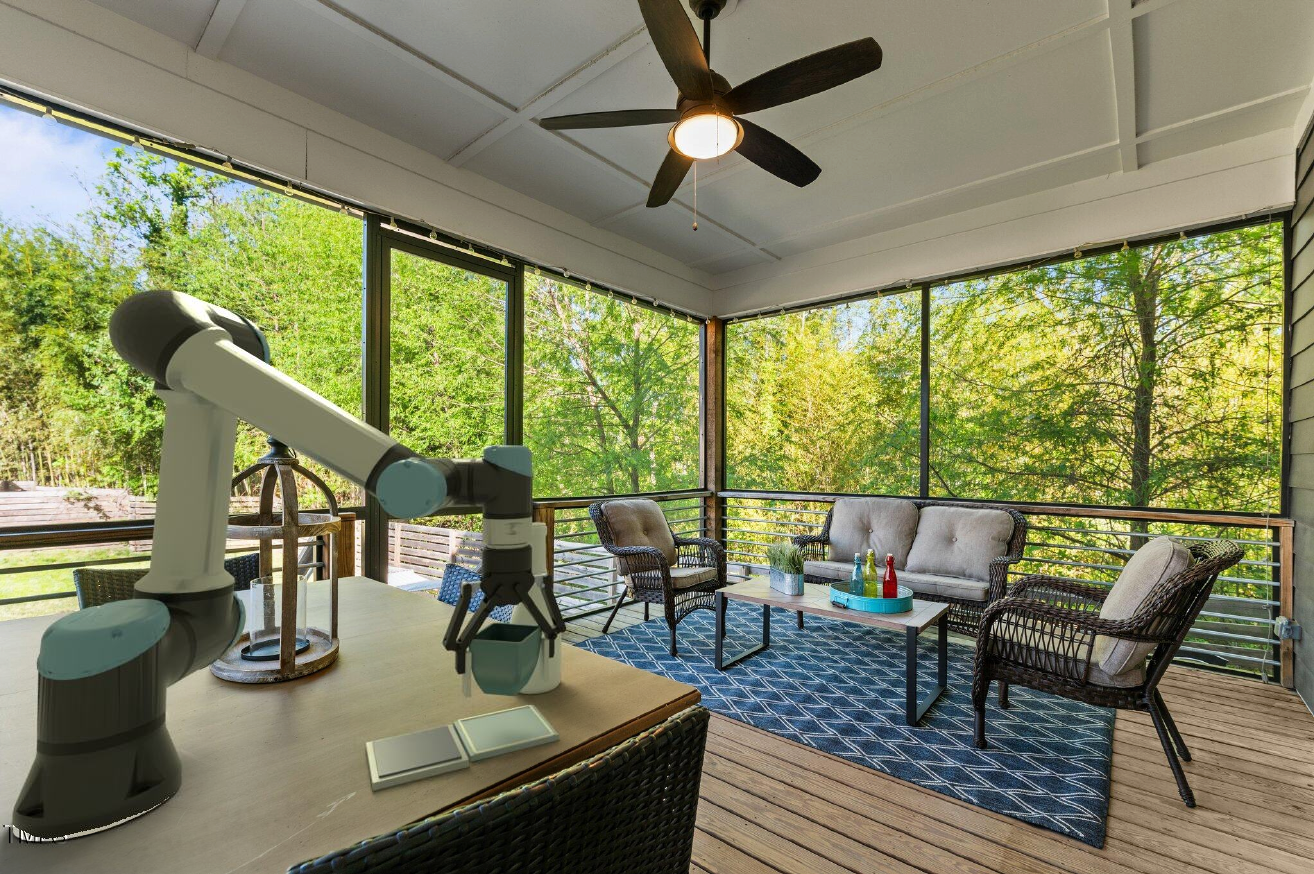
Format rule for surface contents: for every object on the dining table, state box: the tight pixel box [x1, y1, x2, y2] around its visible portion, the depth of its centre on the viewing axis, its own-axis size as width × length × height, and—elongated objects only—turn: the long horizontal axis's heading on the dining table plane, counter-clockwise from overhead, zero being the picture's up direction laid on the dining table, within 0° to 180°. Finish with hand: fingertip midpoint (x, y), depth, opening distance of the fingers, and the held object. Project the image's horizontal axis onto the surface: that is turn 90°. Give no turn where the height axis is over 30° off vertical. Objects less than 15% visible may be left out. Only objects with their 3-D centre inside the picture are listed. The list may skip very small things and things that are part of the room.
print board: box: [452, 704, 560, 763], centre depth 92 cm, size 13×12×1 cm
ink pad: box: [365, 723, 470, 791], centre depth 84 cm, size 12×12×1 cm
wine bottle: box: [509, 521, 563, 695], centre depth 111 cm, size 10×10×30 cm
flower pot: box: [468, 622, 542, 697], centre depth 92 cm, size 9×9×9 cm
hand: (506, 686), depth 92 cm, fingers closed on flower pot, 11 cm apart
